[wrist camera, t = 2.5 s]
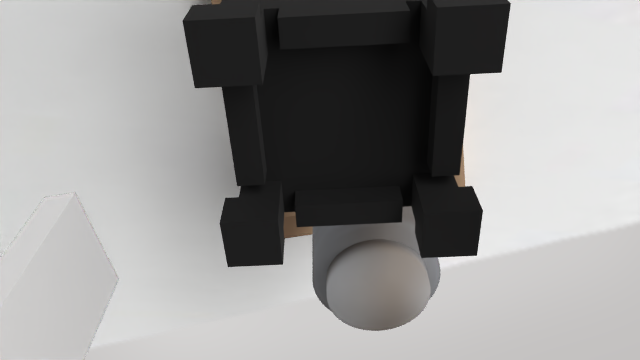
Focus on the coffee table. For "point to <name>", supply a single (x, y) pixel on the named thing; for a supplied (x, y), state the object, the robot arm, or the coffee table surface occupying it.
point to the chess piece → (346, 114)
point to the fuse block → (371, 269)
